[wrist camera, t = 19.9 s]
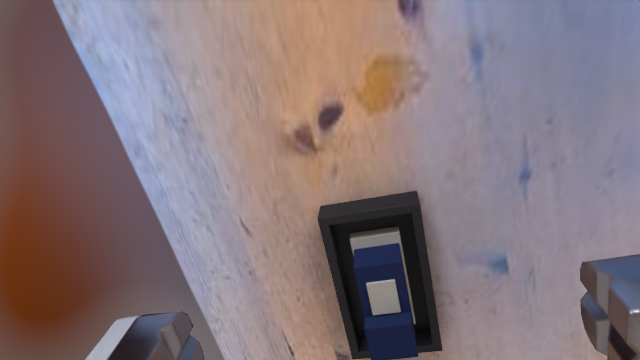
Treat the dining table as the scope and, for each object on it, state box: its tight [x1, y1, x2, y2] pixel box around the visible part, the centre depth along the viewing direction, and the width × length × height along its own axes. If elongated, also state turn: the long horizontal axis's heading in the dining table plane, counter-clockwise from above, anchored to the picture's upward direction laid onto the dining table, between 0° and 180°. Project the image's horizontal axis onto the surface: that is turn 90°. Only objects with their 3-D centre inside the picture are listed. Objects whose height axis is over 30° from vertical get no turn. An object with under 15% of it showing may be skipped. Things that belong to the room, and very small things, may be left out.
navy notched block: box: [350, 226, 418, 360], centre depth 40 cm, size 10×4×6 cm, turn 13°
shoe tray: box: [318, 191, 442, 359], centre depth 42 cm, size 16×9×2 cm, turn 13°
